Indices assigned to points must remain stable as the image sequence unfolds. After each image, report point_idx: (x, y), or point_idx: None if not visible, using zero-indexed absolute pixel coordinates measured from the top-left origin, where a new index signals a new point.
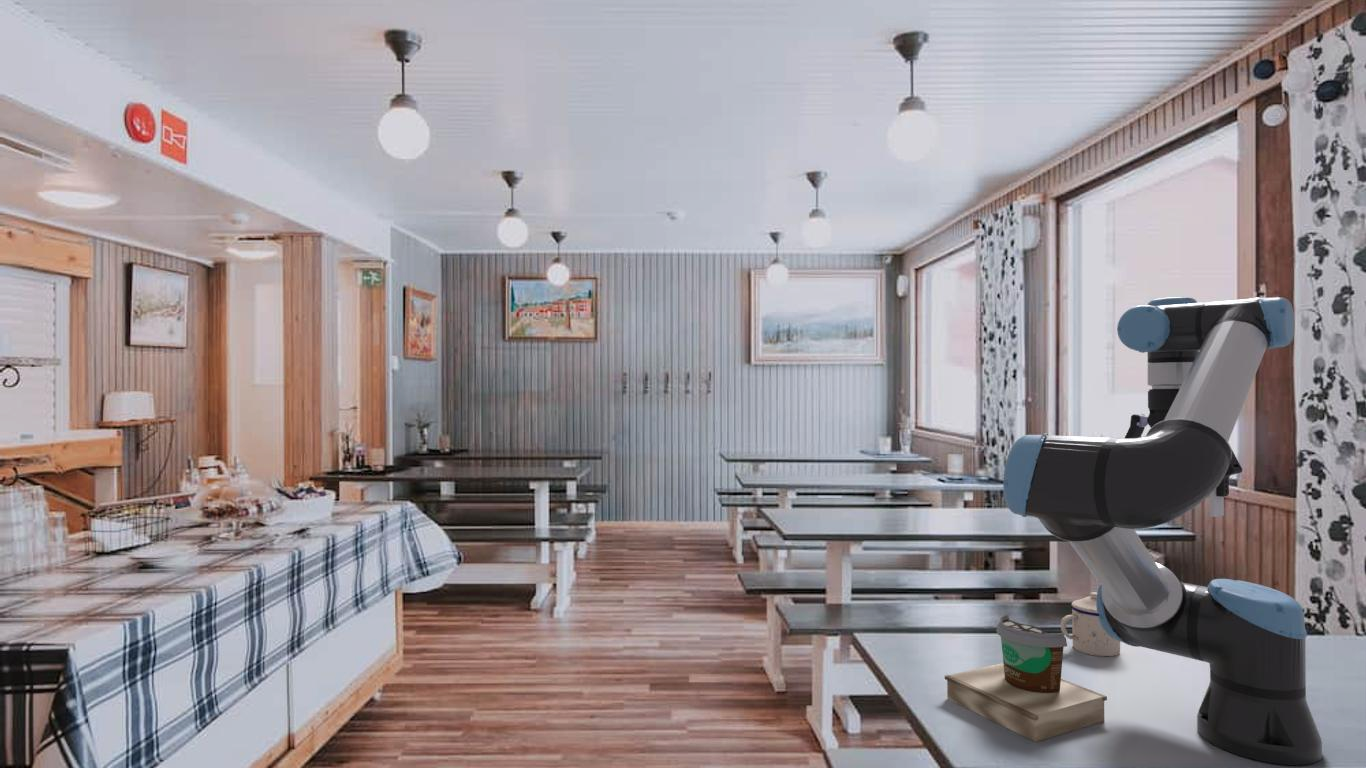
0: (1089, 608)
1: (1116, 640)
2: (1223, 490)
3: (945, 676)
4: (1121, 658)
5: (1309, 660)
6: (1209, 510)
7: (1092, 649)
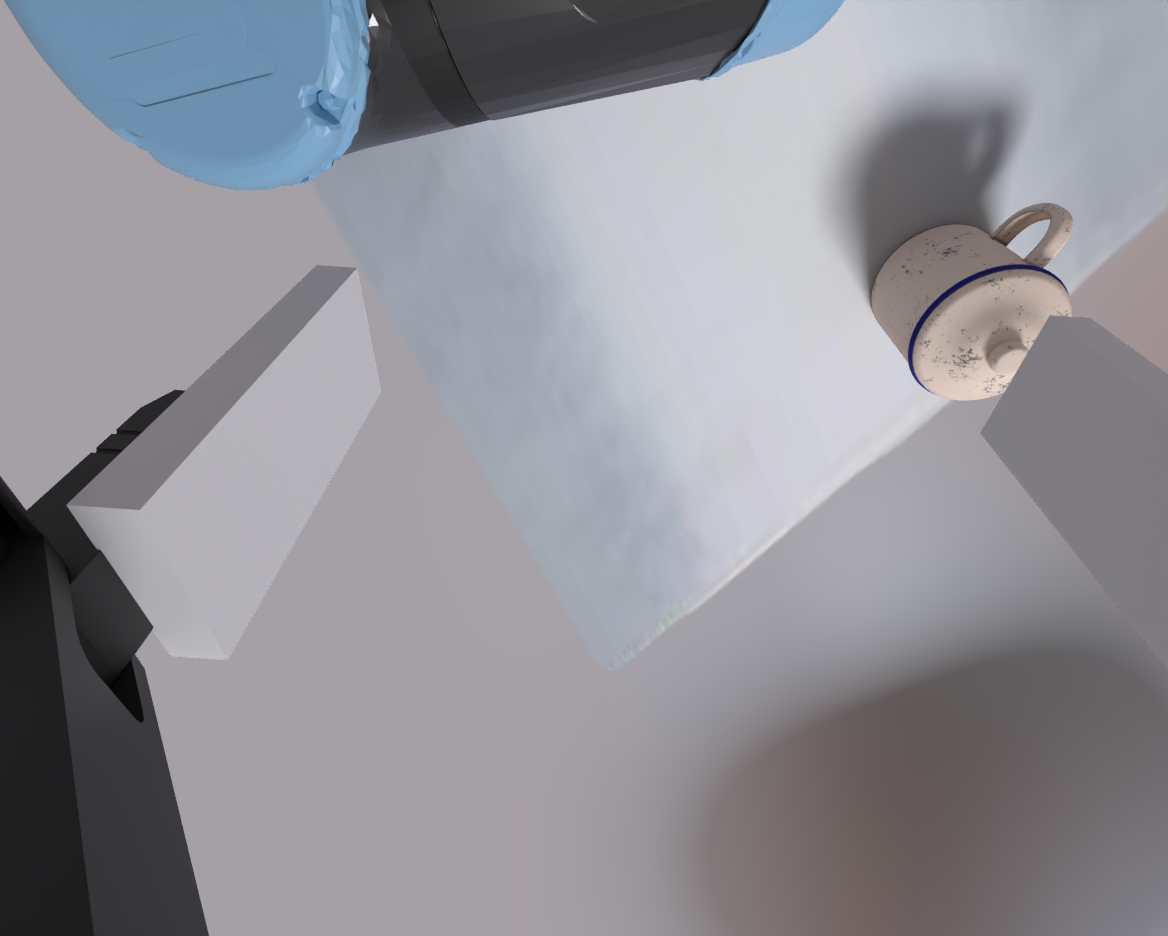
0: (1002, 284)
1: (887, 299)
2: (123, 432)
3: None
4: (857, 277)
5: (595, 552)
6: (336, 289)
7: (934, 234)
